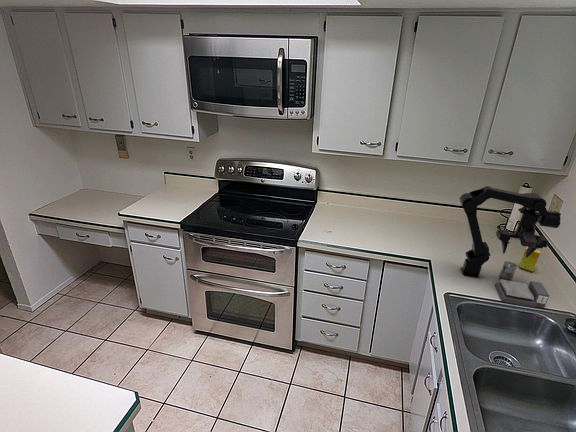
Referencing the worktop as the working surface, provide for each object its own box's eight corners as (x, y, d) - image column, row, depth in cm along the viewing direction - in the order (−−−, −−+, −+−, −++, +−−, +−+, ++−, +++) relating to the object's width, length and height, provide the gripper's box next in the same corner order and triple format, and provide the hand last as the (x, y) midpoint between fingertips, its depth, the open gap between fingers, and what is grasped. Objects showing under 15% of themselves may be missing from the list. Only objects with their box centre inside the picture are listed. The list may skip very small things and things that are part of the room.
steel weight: (500, 281, 159) (505, 266, 156) (497, 275, 164) (502, 260, 160) (512, 283, 158) (518, 268, 155) (509, 277, 163) (514, 262, 159)
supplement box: (520, 263, 174) (527, 244, 170) (534, 268, 171) (542, 248, 166) (518, 268, 170) (525, 248, 166) (532, 273, 167) (540, 253, 162)
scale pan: (506, 294, 145) (507, 292, 145) (499, 281, 154) (500, 279, 153) (533, 299, 143) (534, 297, 142) (525, 285, 152) (526, 283, 151)
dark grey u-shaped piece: (502, 301, 146) (506, 289, 143) (494, 285, 156) (498, 273, 154) (545, 309, 142) (551, 297, 140) (534, 292, 153) (539, 280, 150)
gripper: (509, 227, 144) (497, 260, 150) (560, 235, 140) (545, 268, 147) (501, 216, 153) (490, 248, 160) (548, 224, 150) (535, 255, 157)
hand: (514, 255), depth 156 cm, fingers open, 9 cm apart
